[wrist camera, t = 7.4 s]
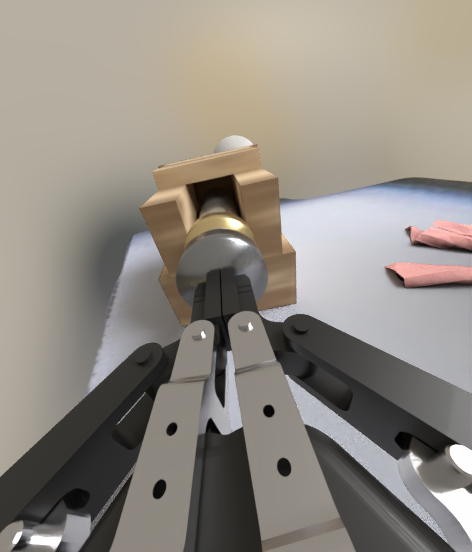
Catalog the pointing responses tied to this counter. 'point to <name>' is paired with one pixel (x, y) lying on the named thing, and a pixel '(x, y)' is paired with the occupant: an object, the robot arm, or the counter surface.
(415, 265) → the cloth
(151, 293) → the counter surface
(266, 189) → the bearing block
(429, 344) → the counter surface
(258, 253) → the shaft
